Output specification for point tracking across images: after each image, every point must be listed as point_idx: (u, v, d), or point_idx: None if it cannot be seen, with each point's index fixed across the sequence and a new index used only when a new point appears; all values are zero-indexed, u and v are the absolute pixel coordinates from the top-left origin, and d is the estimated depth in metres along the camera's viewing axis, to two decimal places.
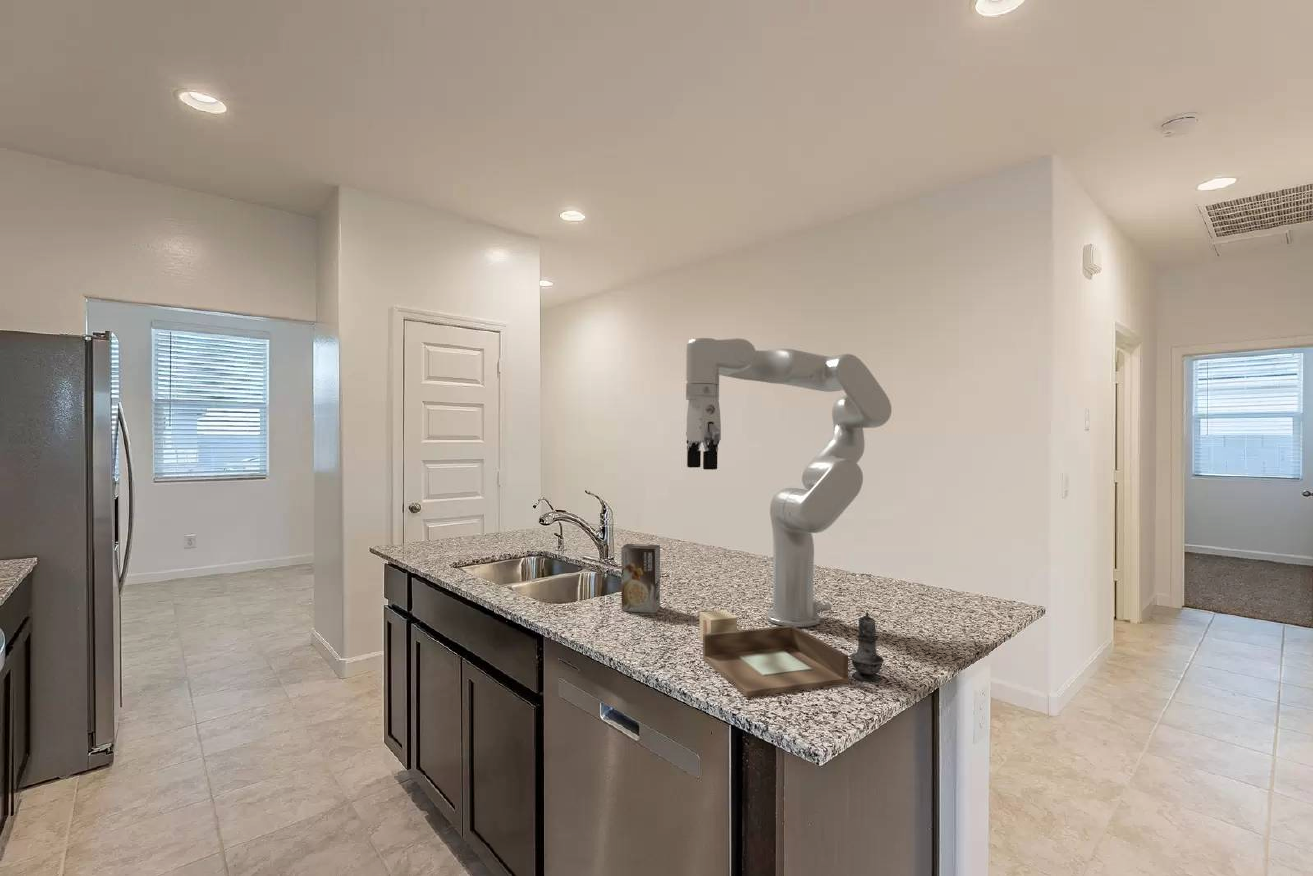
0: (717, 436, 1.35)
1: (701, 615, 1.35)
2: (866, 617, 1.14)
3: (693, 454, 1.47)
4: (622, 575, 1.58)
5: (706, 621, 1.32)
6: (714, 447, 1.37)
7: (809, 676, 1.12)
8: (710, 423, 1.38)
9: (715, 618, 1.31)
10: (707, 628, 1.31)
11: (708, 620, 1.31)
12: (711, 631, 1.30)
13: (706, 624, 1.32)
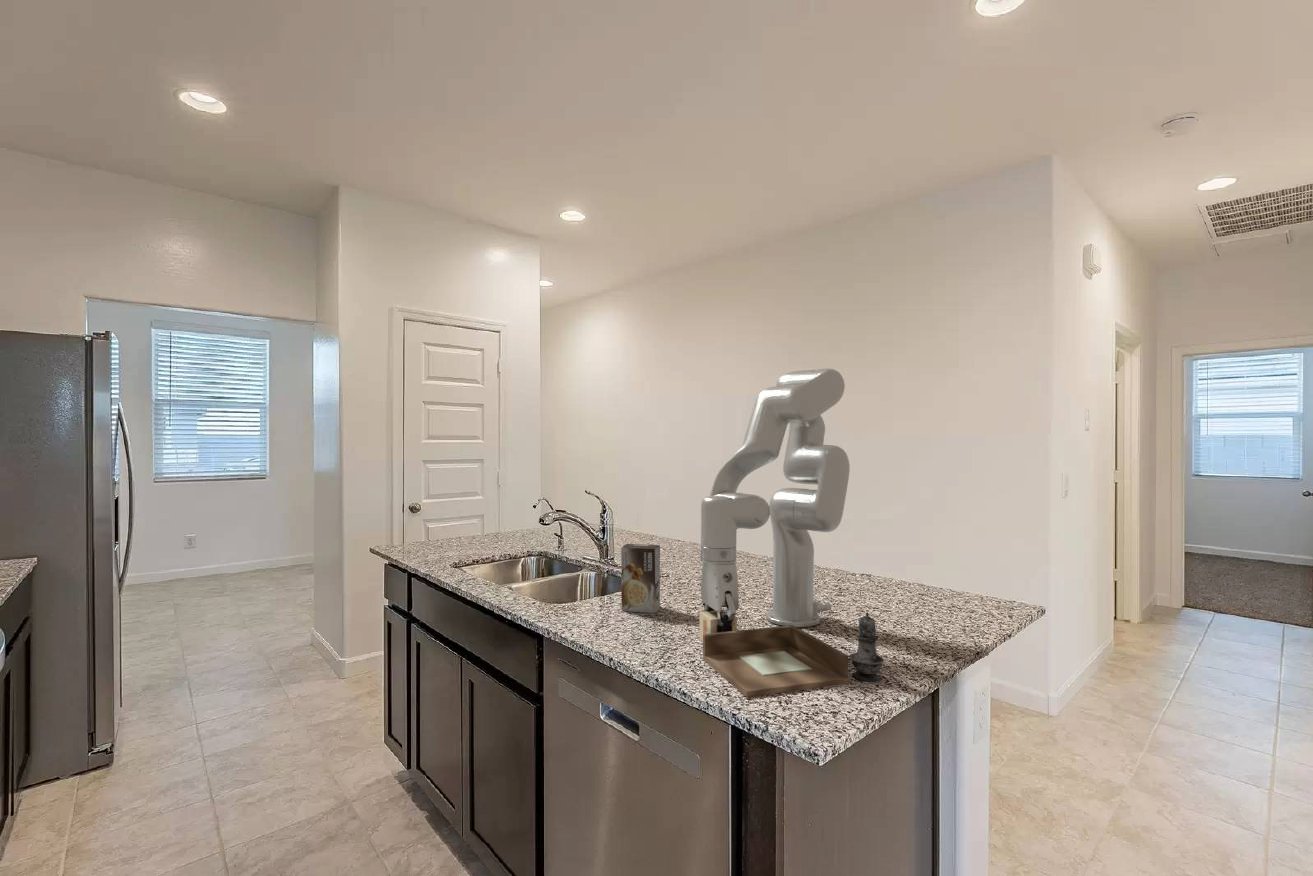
0: (733, 616, 1.27)
1: (701, 615, 1.35)
2: (866, 617, 1.14)
3: None
4: (622, 575, 1.58)
5: (706, 621, 1.32)
6: (729, 623, 1.29)
7: (809, 676, 1.12)
8: (727, 595, 1.29)
9: (715, 618, 1.31)
10: (707, 628, 1.31)
11: (708, 620, 1.31)
12: (711, 631, 1.30)
13: (706, 623, 1.32)
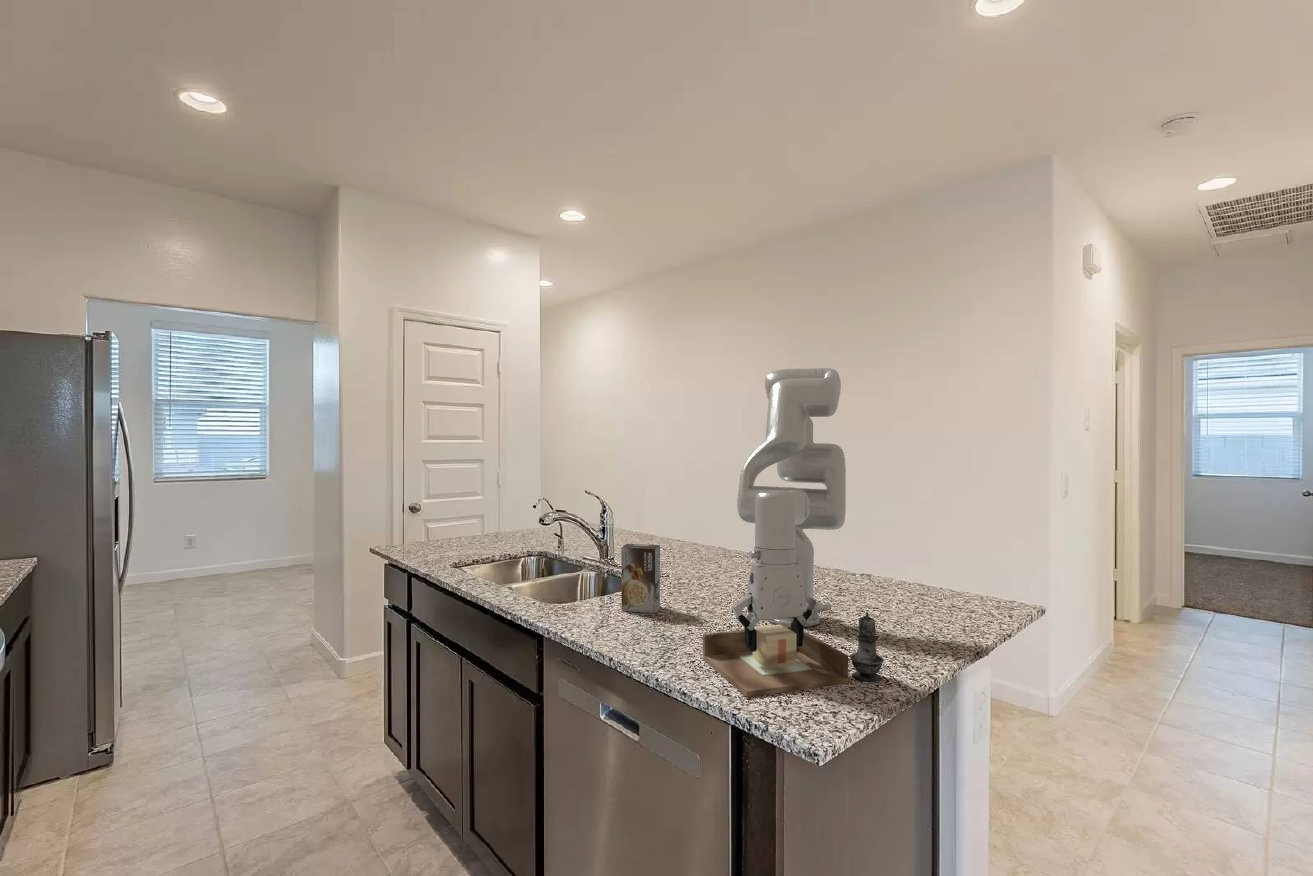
0: (734, 612, 1.16)
1: None
2: (866, 617, 1.14)
3: (794, 628, 1.21)
4: (622, 575, 1.58)
5: None
6: (742, 624, 1.17)
7: (809, 676, 1.12)
8: (749, 595, 1.17)
9: (759, 628, 1.20)
10: None
11: None
12: None
13: None
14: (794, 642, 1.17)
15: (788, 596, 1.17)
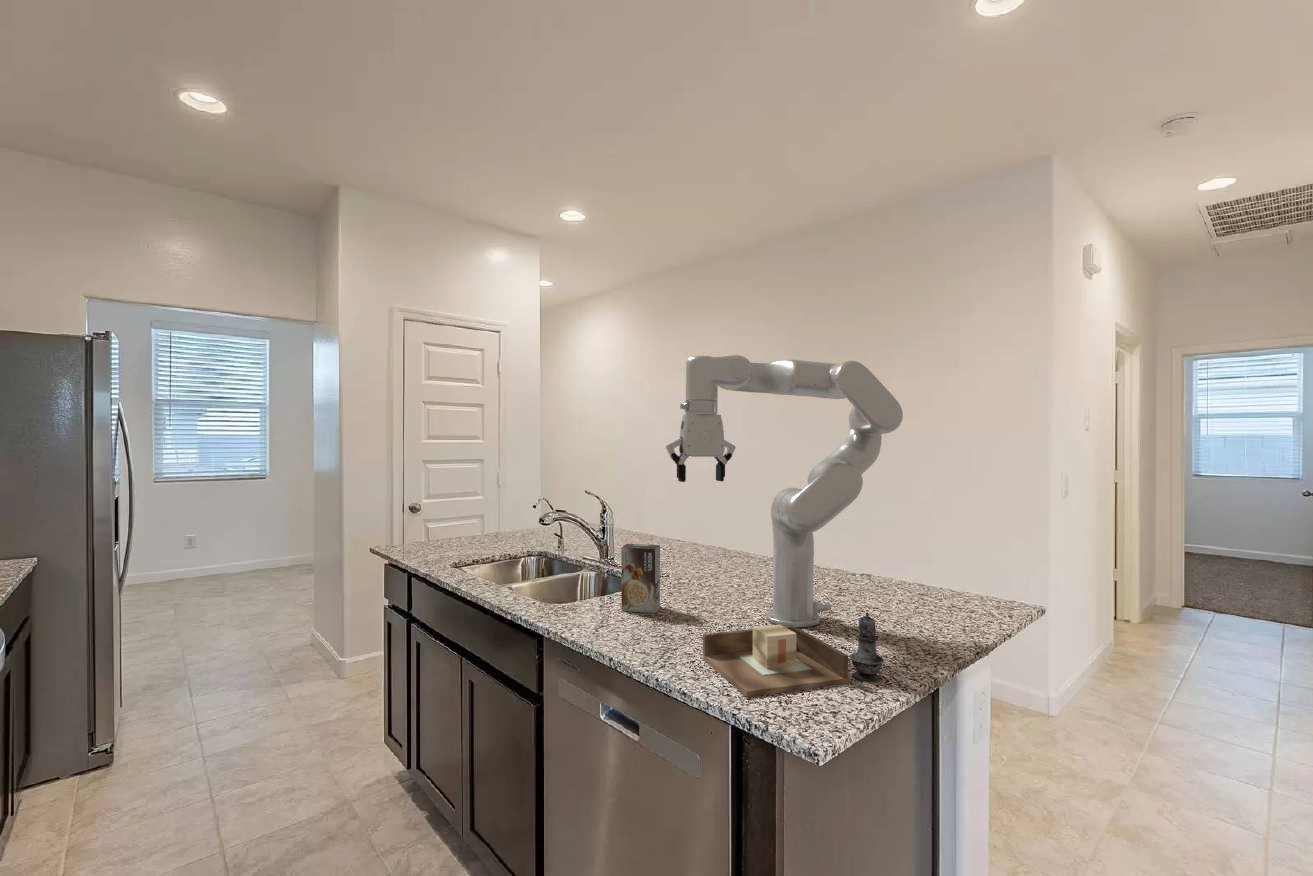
0: (668, 450, 1.46)
1: None
2: (866, 617, 1.14)
3: (717, 468, 1.50)
4: (622, 575, 1.58)
5: None
6: (674, 460, 1.46)
7: (809, 676, 1.12)
8: (680, 438, 1.47)
9: (759, 628, 1.20)
10: None
11: None
12: (753, 639, 1.21)
13: None
14: (794, 642, 1.17)
15: (711, 438, 1.46)
